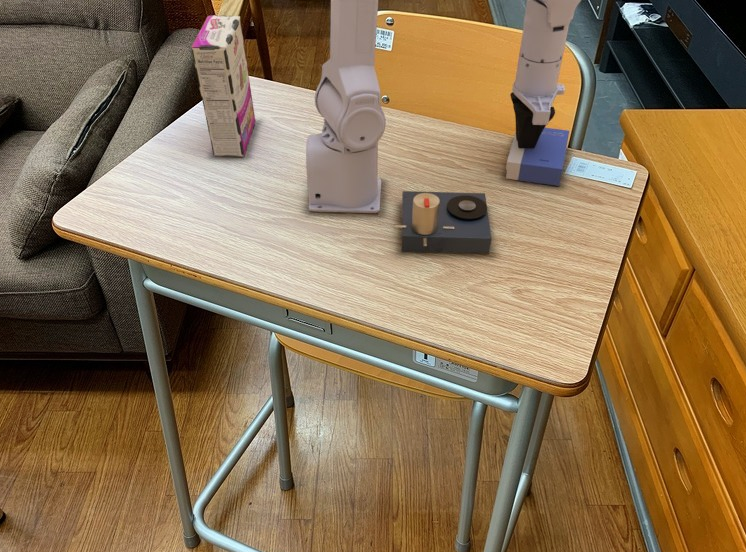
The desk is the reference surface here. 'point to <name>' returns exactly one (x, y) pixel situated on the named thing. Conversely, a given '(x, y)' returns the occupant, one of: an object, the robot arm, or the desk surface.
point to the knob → (425, 213)
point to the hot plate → (445, 229)
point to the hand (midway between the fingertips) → (524, 147)
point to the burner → (466, 208)
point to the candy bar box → (224, 85)
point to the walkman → (539, 158)
